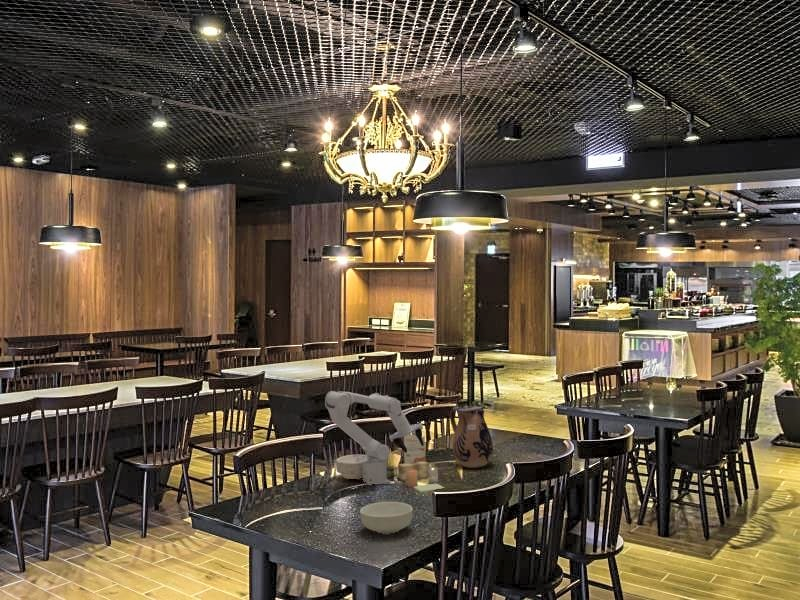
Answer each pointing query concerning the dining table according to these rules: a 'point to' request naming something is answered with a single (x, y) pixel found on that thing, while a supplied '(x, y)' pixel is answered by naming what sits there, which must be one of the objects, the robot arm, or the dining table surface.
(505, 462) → the dining table surface
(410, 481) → the terracotta cap
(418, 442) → the ink cartridge box
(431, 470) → the grey shiny short cylinder
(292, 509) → the dining table surface
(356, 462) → the paper bowls
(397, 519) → the cereal bowl
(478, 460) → the ceramic pitcher
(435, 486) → the mat
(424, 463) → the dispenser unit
